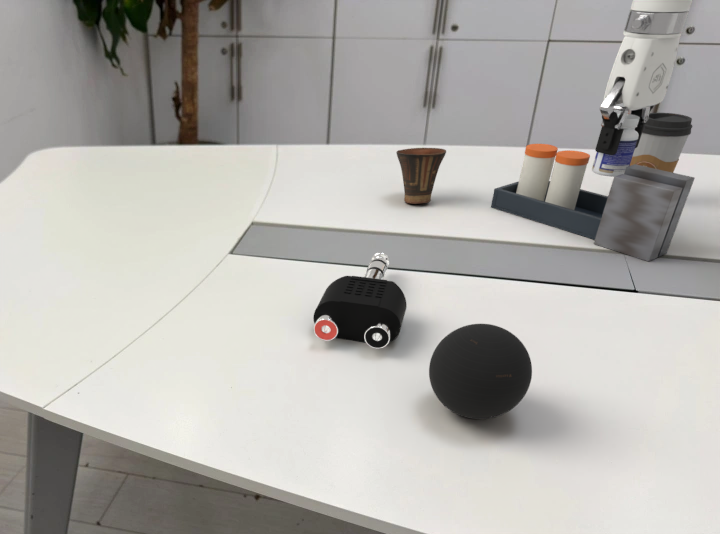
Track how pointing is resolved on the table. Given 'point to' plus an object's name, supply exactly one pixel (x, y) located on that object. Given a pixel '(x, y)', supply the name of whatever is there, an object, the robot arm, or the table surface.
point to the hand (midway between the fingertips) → (616, 148)
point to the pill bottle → (619, 151)
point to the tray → (554, 210)
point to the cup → (419, 172)
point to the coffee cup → (662, 141)
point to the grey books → (643, 211)
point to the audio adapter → (362, 307)
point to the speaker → (480, 371)
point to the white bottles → (563, 176)
